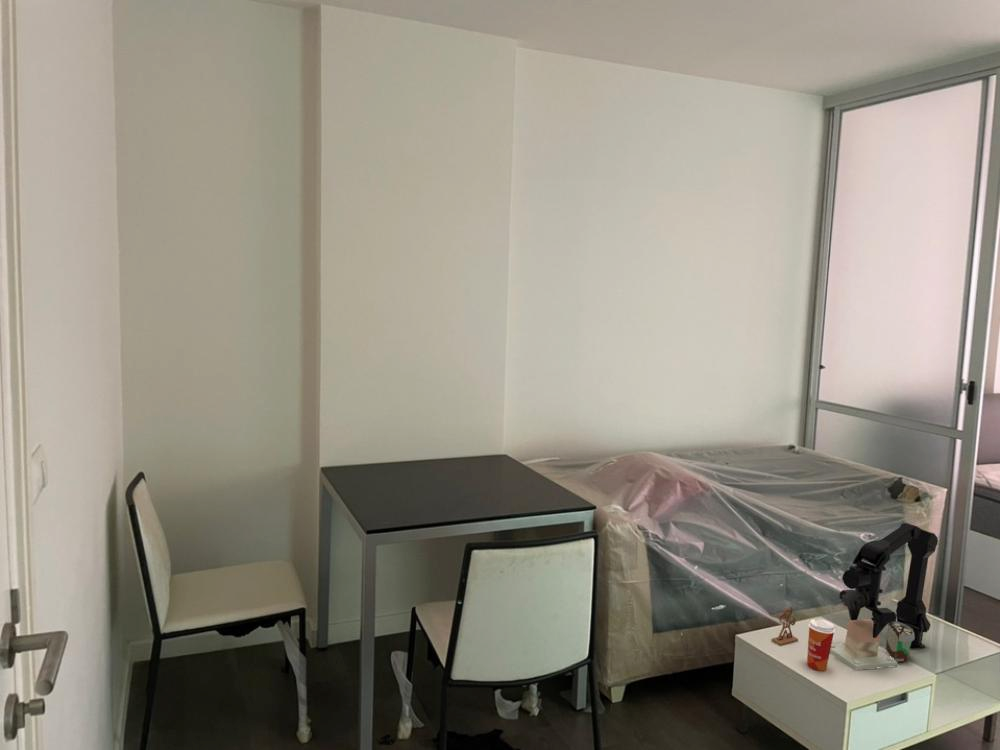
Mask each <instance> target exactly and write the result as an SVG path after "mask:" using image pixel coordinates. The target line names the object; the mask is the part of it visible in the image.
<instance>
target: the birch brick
mask: <svg viewBox="0 0 1000 750" xmlns="http://www.w3.org/2000/svg"><path fill="white" fill-rule="evenodd" d="M844 643H845V648H844V650H845V651H846V652H848V653H849V654H851V655H852V656H854V657H855V658H866V657H877V654H878V650H879V646H880V642H869V643H858V642H856V641H855V640H853V639H852V638H850V637H848V636H847V634H846V635H845V641H844Z"/></svg>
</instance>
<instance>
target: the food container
mask: <svg viewBox="0 0 1000 750" xmlns="http://www.w3.org/2000/svg"><path fill="white" fill-rule="evenodd" d="M886 634H887V635H886V644H885V650H887V651H886V652H888V653H889V654H890V656H891V657H893V658H894V660H895V661H897V662H898V664H905V662H906V663H907V662H908V657H909V655H910V650H911V648H910V646H911V642H912V641H913V640H914V639H915V637H914V632H913V629H912V628H910V627H909V626H907V625H905V624H903V623H900V622H897V620H896V621H895V622H890V623H888V624H887V633H886ZM888 653H887V654H888ZM889 654H888V655H889Z"/></svg>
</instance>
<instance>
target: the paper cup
mask: <svg viewBox="0 0 1000 750" xmlns="http://www.w3.org/2000/svg"><path fill="white" fill-rule="evenodd" d="M808 628H809V629H808V642H807V656H806V657H807V659H806V665H807V667H808V668H810V669H812V670H813V671H817V672H825V671H826V670H827V667H828V664H829V659H830V654H831V653H830V649H831V644H832V643H833V638H834V634H835V632H836V629H835V624H833V623H832V622H830V621H828V620H825V619H811V620H810V621H809V623H808Z"/></svg>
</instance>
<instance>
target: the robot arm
mask: <svg viewBox="0 0 1000 750" xmlns="http://www.w3.org/2000/svg"><path fill="white" fill-rule="evenodd" d="M938 538H939V537H938V536H936V533H934V532H931V531H929V530H928V531H927V530H925V529H922V528H920V527H919V526H918V525H914V524H911V523H908V522H902V524H900V526H898V528H897V529H895V530H893V531H891V532H889V534H887V535H886V536H885V537H883V538H882V539H879V540H871V541H868V542H866V543H864V544H863V545H862V546H861V547H860V549H859V551H858V552H857V554H856V556H855V557H854V559H853V560H852V564H853V565H851V566H849V569H848V570H845V571H844V572H843V574H842V582H843V584H844V586H846V587H847V588H848V589H841V591H840V593H839V597H838V598H839V600H841V602H842V603H843V606H845V607H847V609H848V610H847V611H848V613H849V618H850V619H849V620H859V619H858V618H859V615H860V612H861V610H862V609H864V608H865V609H867V610H869V611H871V616H872V617H870V620H871V621H873V622H874V624H873V638H876V637H877V636H878V635H879V634H880V632H881V633H882V631H883V630H884V628H886V626H888V623H890V622H895V621H897V622H900V623H903V624H905V625H907V626H909V627H910V628H912V629H913V632H914V637H915V639H914V640H913V641H912V642H911V646H910V649H918V648H919V649H920V648H926V645H925V644H923V638H924V637H923V636H924V633H928V631H930V628H931V622H930V621H929V619H928V618H927V616H926V615H927V607H926V605H925V603H924V601H923V597H924V595H923V594H924V589H925V582H926V575H927V568H928V562H929V557H930V556H932V555H933V554H934V553H935V552H936V549H937V545H938V544H939V539H938ZM905 544H907V548H908V550H909V552H910V555H911V557H910V563H909V568H908V577H907V582H906V590H905V595H904V597H902V599H901V600H897V604H896V609H895V611H893V610H891V609H890V608H888V607H878V606H881V605H882V602H881V601H879V598H880V597H879V596H880V594H882V593H883V592H884V591H883V589H882V588H881V582H882V574H883V572H884V571H886V570H887V568H886V567H885V565H886V564H887V563H888V562H889V561H891V555H892V554H893V553H895V552H896V551H897V550H898V549H900V548H902V547H903V546H904V545H905Z"/></svg>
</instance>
